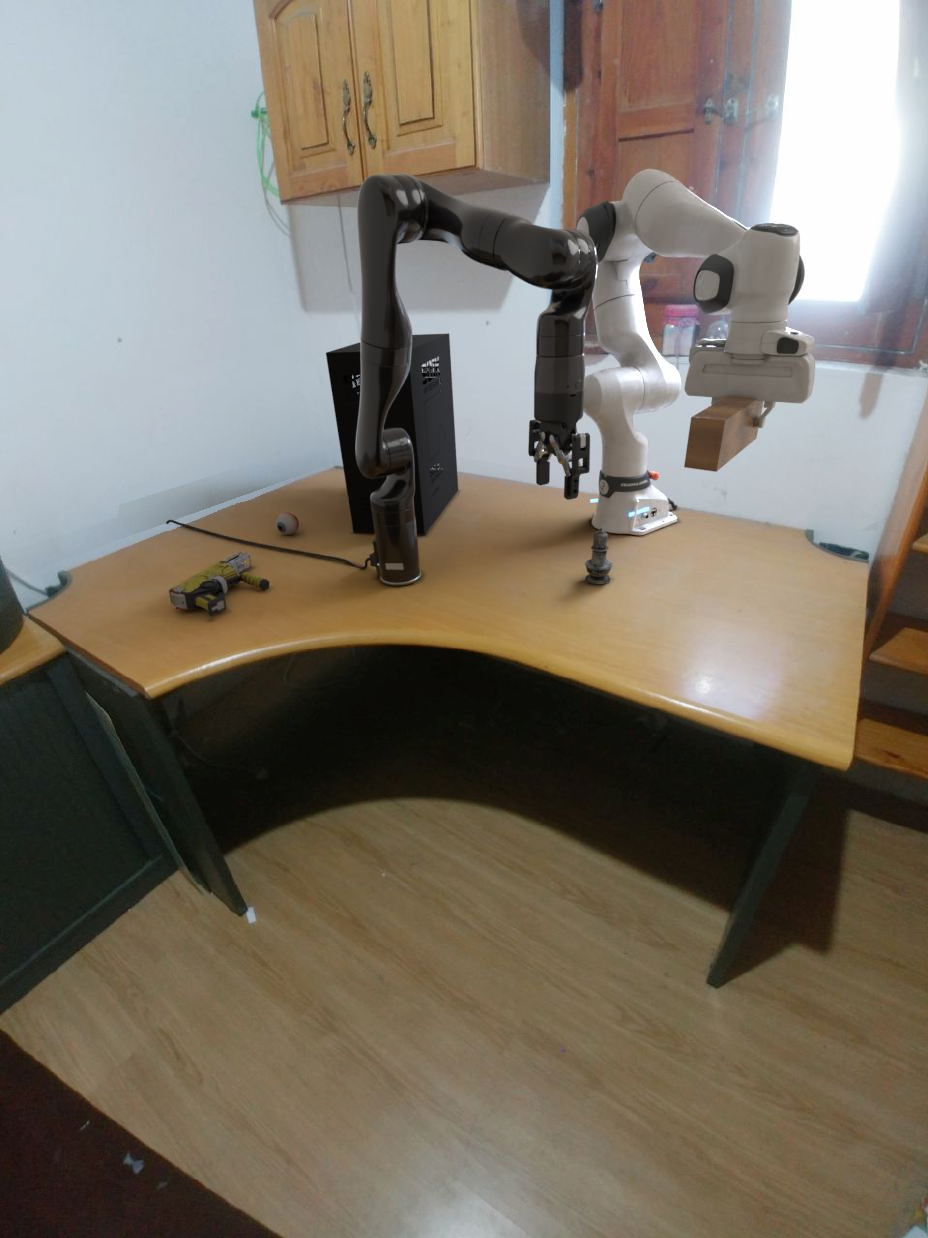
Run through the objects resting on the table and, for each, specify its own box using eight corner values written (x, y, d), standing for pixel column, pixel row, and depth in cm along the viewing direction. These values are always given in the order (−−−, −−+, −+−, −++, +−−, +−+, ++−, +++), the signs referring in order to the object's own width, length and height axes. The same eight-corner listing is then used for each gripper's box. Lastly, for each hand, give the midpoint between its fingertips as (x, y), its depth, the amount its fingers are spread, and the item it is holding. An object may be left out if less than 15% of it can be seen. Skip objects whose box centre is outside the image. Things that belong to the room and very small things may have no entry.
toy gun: (290, 560, 142) (237, 549, 146) (223, 603, 122) (163, 589, 126) (292, 578, 144) (239, 566, 148) (226, 623, 124) (167, 609, 128)
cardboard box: (424, 535, 159) (408, 350, 137) (353, 532, 164) (325, 352, 141) (458, 489, 191) (449, 333, 168) (397, 488, 195) (380, 335, 173)
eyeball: (273, 537, 164) (268, 516, 161) (287, 528, 169) (282, 508, 166) (291, 539, 161) (286, 518, 158) (305, 530, 166) (301, 510, 163)
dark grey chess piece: (611, 585, 129) (615, 533, 123) (583, 584, 130) (586, 532, 124) (611, 573, 134) (615, 522, 128) (584, 572, 135) (587, 521, 129)
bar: (727, 435, 112) (735, 391, 108) (756, 438, 109) (765, 393, 105) (683, 467, 96) (691, 416, 92) (716, 471, 94) (725, 420, 90)
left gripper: (514, 383, 95) (515, 483, 103) (564, 396, 84) (560, 508, 92) (555, 378, 98) (552, 476, 106) (608, 389, 86) (601, 499, 94)
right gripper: (684, 340, 103) (674, 423, 110) (818, 343, 92) (797, 435, 99) (697, 336, 107) (686, 416, 114) (826, 338, 96) (805, 427, 103)
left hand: (556, 491), depth 99 cm, fingers open, 8 cm apart
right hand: (739, 425), depth 107 cm, fingers closed on bar, 5 cm apart
